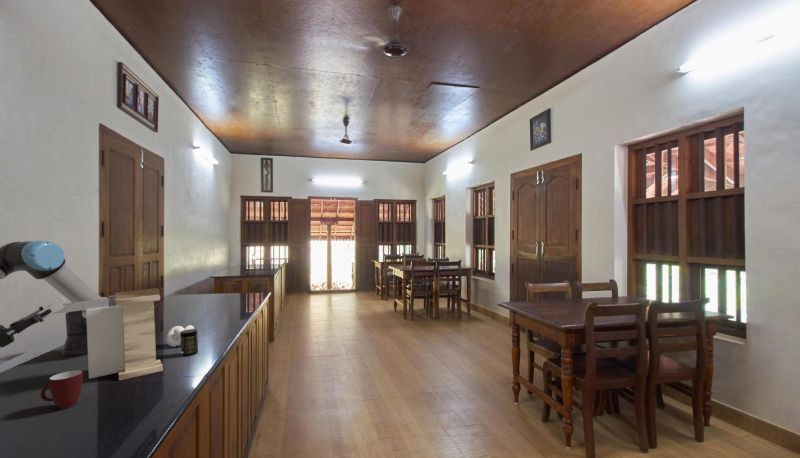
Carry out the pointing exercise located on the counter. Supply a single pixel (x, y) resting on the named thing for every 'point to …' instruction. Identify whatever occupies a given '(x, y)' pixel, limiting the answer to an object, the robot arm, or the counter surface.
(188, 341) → the supplement container
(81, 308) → the steel bar
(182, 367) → the counter surface
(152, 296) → the stand
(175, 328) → the white twisted tube knot
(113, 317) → the block
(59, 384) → the mug
